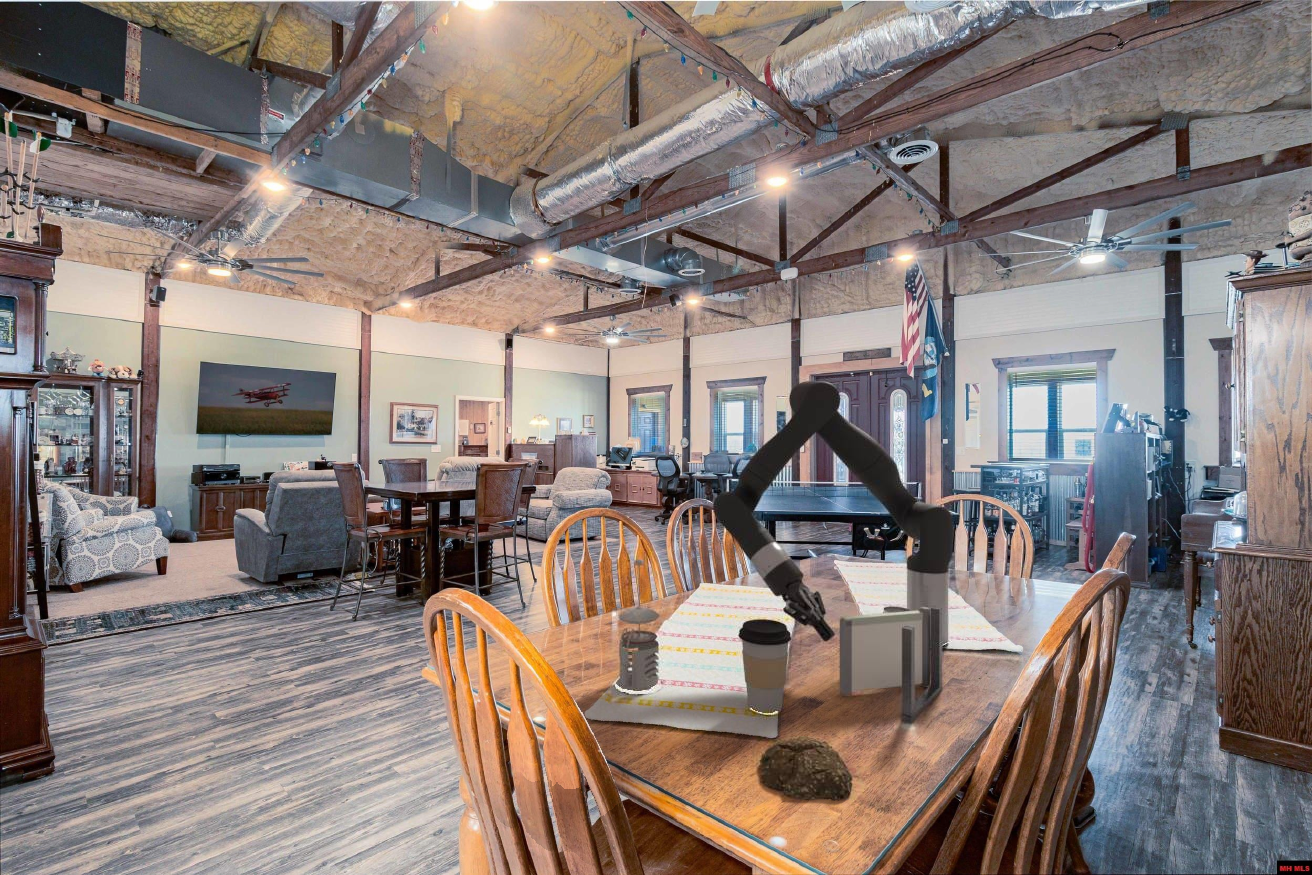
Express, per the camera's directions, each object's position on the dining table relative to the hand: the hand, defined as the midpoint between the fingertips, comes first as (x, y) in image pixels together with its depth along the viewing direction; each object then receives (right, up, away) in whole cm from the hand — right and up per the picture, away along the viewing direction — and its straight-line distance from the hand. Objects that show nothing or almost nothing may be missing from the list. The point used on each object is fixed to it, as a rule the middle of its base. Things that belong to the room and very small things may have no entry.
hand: (830, 638), depth 121 cm
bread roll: (-14, -9, -33) cm, 37 cm away
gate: (+10, -8, -4) cm, 13 cm away
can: (+17, -9, +9) cm, 22 cm away
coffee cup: (-15, -9, -12) cm, 21 cm away
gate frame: (+14, -9, -10) cm, 19 cm away
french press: (-39, -9, -2) cm, 40 cm away
